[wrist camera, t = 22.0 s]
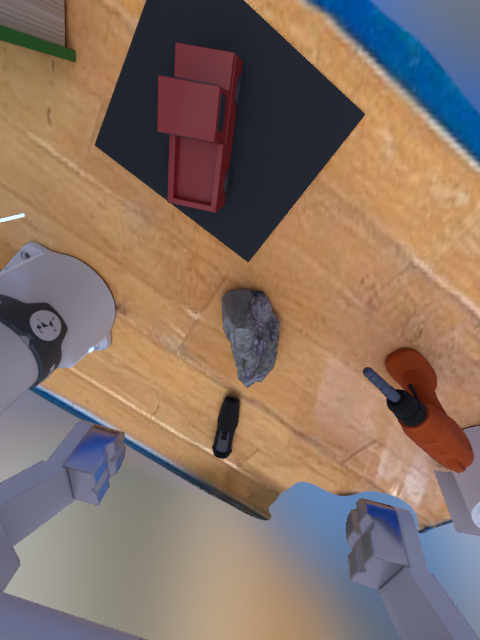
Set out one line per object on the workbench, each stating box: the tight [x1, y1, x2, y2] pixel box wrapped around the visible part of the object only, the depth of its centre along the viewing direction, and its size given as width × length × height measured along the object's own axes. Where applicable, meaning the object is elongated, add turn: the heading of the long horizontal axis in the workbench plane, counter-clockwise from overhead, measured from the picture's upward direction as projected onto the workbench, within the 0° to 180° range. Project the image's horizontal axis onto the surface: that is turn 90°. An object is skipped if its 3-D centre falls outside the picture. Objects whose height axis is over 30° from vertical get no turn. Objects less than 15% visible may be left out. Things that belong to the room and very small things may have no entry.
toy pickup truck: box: [158, 42, 245, 213], centre depth 30 cm, size 13×6×8 cm, turn 171°
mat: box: [95, 0, 365, 262], centre depth 33 cm, size 19×22×1 cm
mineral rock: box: [222, 289, 280, 388], centre depth 41 cm, size 13×11×10 cm
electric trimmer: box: [212, 397, 240, 459], centre depth 55 cm, size 4×16×3 cm, turn 171°
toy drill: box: [363, 348, 474, 473], centre depth 36 cm, size 5×19×15 cm, turn 47°
